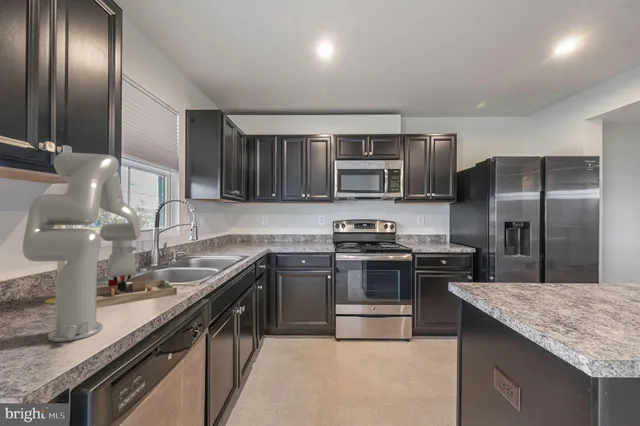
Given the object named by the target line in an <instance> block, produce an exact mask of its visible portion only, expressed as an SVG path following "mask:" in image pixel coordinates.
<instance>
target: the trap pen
mask: <svg viewBox="0 0 640 426" xmlns="http://www.w3.org/2000/svg"><path fill="white" fill-rule="evenodd" d="M157 287H163V288H162V289H154V288H157ZM145 289H146V291H142V292H134V293H129V294H123V295H121V294H120V295H116V293H121V292H120V291H119V290H118V285H115V286H108V285H107V286H101V287H97V296H101V295H106V294H107V295H108V294H110V296H109V297H103V298H102V297H101V298H97V306H96V309H97V308H102V307H109V306H114V305H120V304H126V303H132V302H137V301H138V302H139V301H145V300H151V299H156V298H157V299H158V298H163V297H170V296H175V295H177V293H178V287H177V286H175V284H172V283H171V282H169V281H168V280H166V279H164V278H163V279H155V280H149V281H147V280H146V281H145ZM127 291H132V282H131V283H126V289H125V291H124V292H127Z"/></svg>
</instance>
